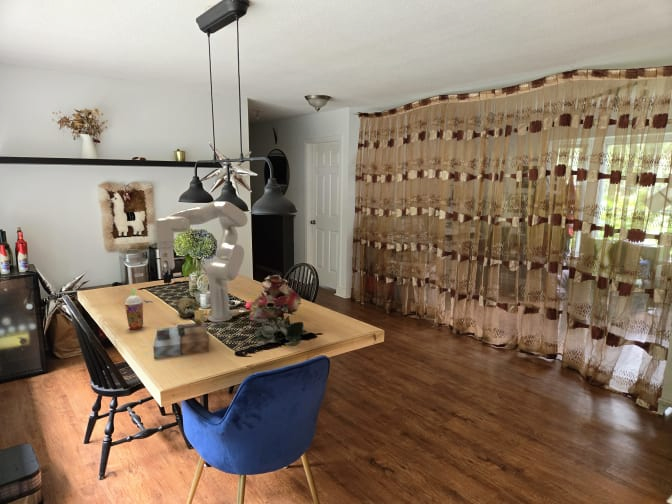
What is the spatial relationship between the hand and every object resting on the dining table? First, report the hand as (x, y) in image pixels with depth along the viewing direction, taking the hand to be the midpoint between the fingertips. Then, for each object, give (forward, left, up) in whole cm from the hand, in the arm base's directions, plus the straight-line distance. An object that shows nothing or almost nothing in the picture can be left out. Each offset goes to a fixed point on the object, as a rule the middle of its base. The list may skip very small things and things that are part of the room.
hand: (168, 280), depth 197 cm
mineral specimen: (-7, -33, -28) cm, 44 cm away
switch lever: (-9, +12, -20) cm, 25 cm away
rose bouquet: (-47, +15, -28) cm, 57 cm away
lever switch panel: (-4, +12, -28) cm, 31 cm away
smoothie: (+19, -21, -28) cm, 40 cm away
